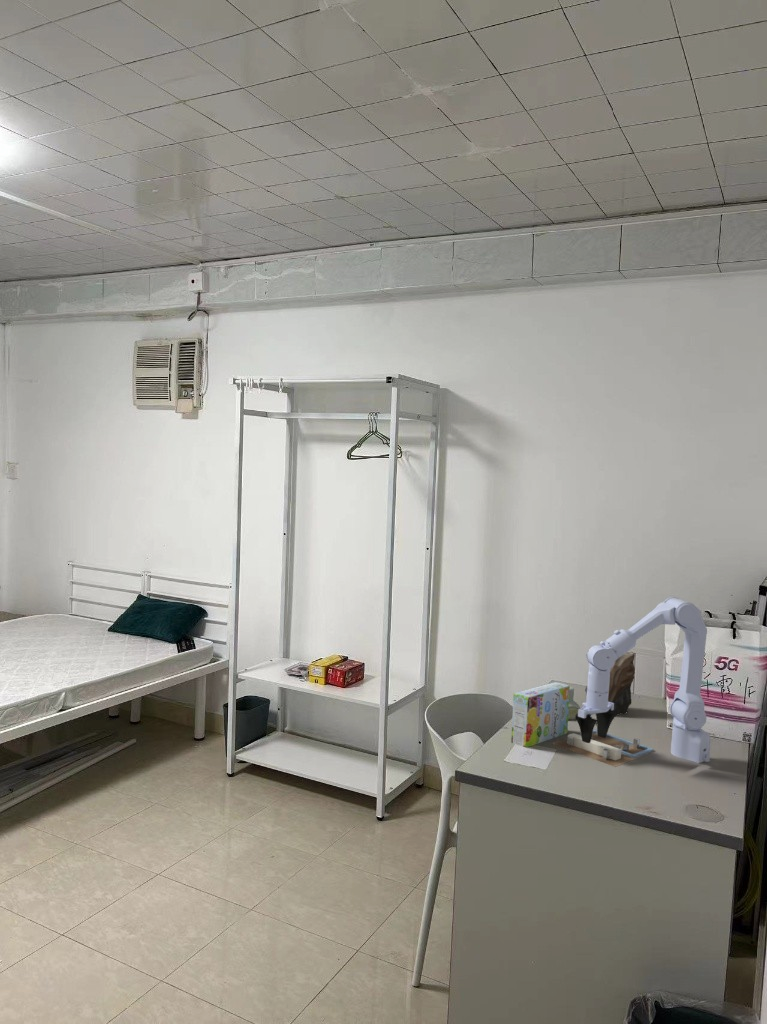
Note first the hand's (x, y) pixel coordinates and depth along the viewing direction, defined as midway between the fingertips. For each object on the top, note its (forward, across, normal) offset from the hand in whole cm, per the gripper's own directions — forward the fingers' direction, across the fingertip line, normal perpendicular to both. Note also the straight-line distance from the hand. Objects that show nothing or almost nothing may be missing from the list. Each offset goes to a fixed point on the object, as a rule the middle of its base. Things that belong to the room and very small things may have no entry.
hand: (593, 739), depth 206 cm
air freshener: (+4, -20, -24) cm, 32 cm away
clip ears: (+4, -5, 0) cm, 7 cm away
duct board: (+4, -5, 0) cm, 7 cm away
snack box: (+4, +4, -15) cm, 16 cm away
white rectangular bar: (+3, 0, 0) cm, 3 cm away
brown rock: (+4, -40, -21) cm, 45 cm away
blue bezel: (+3, -10, 0) cm, 11 cm away
